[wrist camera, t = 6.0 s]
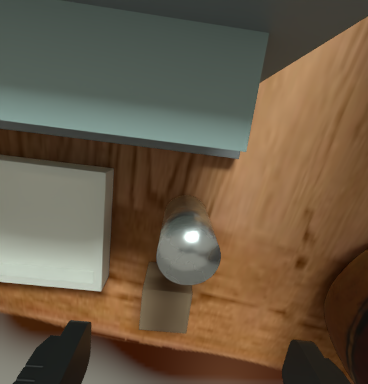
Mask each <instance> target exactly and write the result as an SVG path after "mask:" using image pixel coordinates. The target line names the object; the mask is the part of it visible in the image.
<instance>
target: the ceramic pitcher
mask: <svg viewBox="0 0 368 384" xmlns="http://www.w3.org/2000/svg"><path fill="white" fill-rule="evenodd" d="M324 315H325V322H326V325H327V328H328V332H329V335H330V338H331V340H332V343H333V345H334V347H335V350H336V352H337V354H338V356H339V358H340V360H341V362H342V364H343V366H344V368H345V370H346V371H347V373H348V374H349V376H350V377H351V379H352V380H353V382H354V383H355V384H368V249H367V250H366V251H364V252H363V253H361V254H360V255H359V256H357V257H356V258H355V259H354V260H353V261H352V262H351V263H350V264H349V265H348V266H347V267H346V268H345V269H344V270H343V271H342V272H341V273H340V274H339V275H338V276H337V277H336V279H335V280H334V282H333V284H332V285H331V287H330V289H329V291H328V293H327V296H326V299H325V302H324Z"/></svg>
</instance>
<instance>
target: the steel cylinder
mask: <svg viewBox="0 0 368 384" xmlns="http://www.w3.org/2000/svg"><path fill="white" fill-rule="evenodd" d="M156 259H157V264H158V267H159V269H160V271H161V272H162V274H163V275H164V276H165V277H166V278H168V279H169V280H171V281H172V282H175V283H177V284H181V285H195V284H199V283H202V282H204V281H206V280H207V279H209V278H210V277H211V276H212V275H213V274H214V273H215V272H216V270H217V269H218V266H219V264H220V259H221V253H220V248H219V245H218V243H217V240H216V237H215V234H214V231H213V228H212V225H211V222H210V219H209V216H208V213H207V210H206V207H205V205H204V204H203V203H202V202H201V201H200V200H199V199H198V198H196V197H194V196H190V195H182V196H178V197H176V198H174V199H172V200H171V201H170V202H169V203H168V205H167V207H166V209H165V213H164V218H163V223H162V228H161V233H160V239H159V244H158V249H157V256H156Z"/></svg>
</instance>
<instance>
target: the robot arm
mask: <svg viewBox="0 0 368 384" xmlns="http://www.w3.org/2000/svg"><path fill="white" fill-rule="evenodd" d="M90 349H91V322H85V321H73V320H71V321H69V323H68V324H67V326H66V327H65V329H64V331H63V332H62V334H61V336H53V335H51V336H50V337H49V338H47V339H46V340H45V341H44V342H43V343H42V344H40V345H39V346H38V347H37V348H36V349H35V351H34V352H33V354H32V356H31V357H30V359H29V360H28V362H27V363H26V366H25V367H24V368H23V369H22V371H21V373H20V374H19V375H18V377H17V379H16V381H15V382H14V383H13V384H81V383H82V380H83V378H84V375H85V373H86V370H87V366H88V363H89V357H90ZM282 378H283V383H284V384H351V383H350V382H349V380H348V379H347V378H346V376H345V375H344V373H343V372H342V371H341V370H340V369H339V368H338V367H337V366H336V365H335V364H334V363H333V362H332V361H331V360H330V359H329V358H324V356H323V355H322V353H321V352H320V350H319V349H318V347H317V346H316V344H315V343H313V342H312V341H302V340H292V341H291V342H290V345H289V348H288V351H287V354H286V358H285V361H284V364H283V368H282Z"/></svg>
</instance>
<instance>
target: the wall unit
mask: <svg viewBox="0 0 368 384" xmlns="http://www.w3.org/2000/svg"><path fill="white" fill-rule="evenodd" d="M367 16H368V0H0V129H8V130H16V131H24V132H32V133H39V134H47V135H55V136H63V137H71V138H79V139H86V140H94V141H102V142H110V143H118V144H126V145H134V146H141V147H149V148H157V149H165V150H173V151H181V152H188V153H196V154H204V155H212V156H220V157H228V158H236V159H239V155H240V151H243V152H246V150H247V145H248V140H249V134H250V129H251V124H252V119H253V114H254V109H255V104H256V99H257V93H258V88H259V83H260V82H262V81H264V80H265V79H267V78H269V77H270V76H272V75H273V74H275V73H277V72H278V71H280V70H282V69H283V68H285V67H286V66H288V65H290V64H291V63H293V62H294V61H296V60H298V59H299V58H301V57H303V56H304V55H306V54H307V53H309V52H311V51H312V50H314V49H316V48H317V47H319V46H320V45H322V44H324V43H325V42H327V41H328V40H330V39H332V38H333V37H335V36H337V35H338V34H340V33H341V32H343V31H345V30H346V29H348V28H349V27H351V26H353V25H354V24H356V23H358V22H359V21H361V20H362V19H364V18H366V17H367Z"/></svg>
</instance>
